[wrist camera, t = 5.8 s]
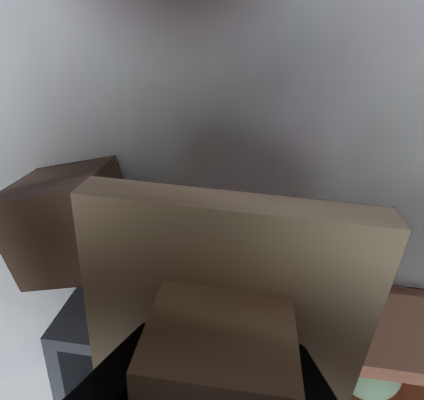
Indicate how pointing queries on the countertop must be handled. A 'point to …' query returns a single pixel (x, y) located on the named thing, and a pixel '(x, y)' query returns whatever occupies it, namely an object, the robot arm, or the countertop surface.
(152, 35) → the countertop surface
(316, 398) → the robot arm
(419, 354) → the pot
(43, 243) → the walnut block
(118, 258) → the lid
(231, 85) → the countertop surface
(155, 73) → the countertop surface
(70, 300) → the grey open square bin
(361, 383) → the ball
